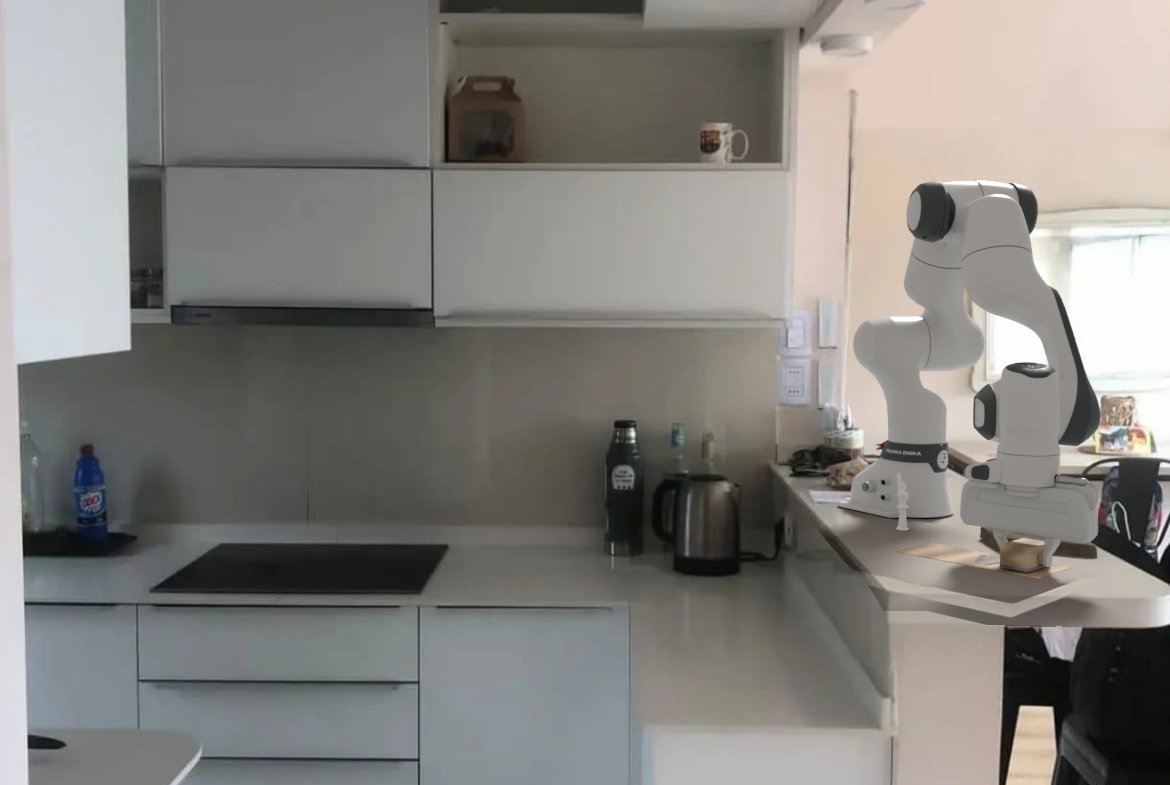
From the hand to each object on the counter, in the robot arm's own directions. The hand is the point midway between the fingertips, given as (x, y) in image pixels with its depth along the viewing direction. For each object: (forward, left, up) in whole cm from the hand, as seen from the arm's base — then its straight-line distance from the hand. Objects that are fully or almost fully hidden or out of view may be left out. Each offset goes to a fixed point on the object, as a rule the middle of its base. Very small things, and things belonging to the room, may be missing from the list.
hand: (1025, 562), depth 165 cm
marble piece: (-7, +16, -3) cm, 17 cm away
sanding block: (0, 0, 0) cm, 1 cm away
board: (-8, 0, -2) cm, 8 cm away
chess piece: (-29, +11, -2) cm, 31 cm away
